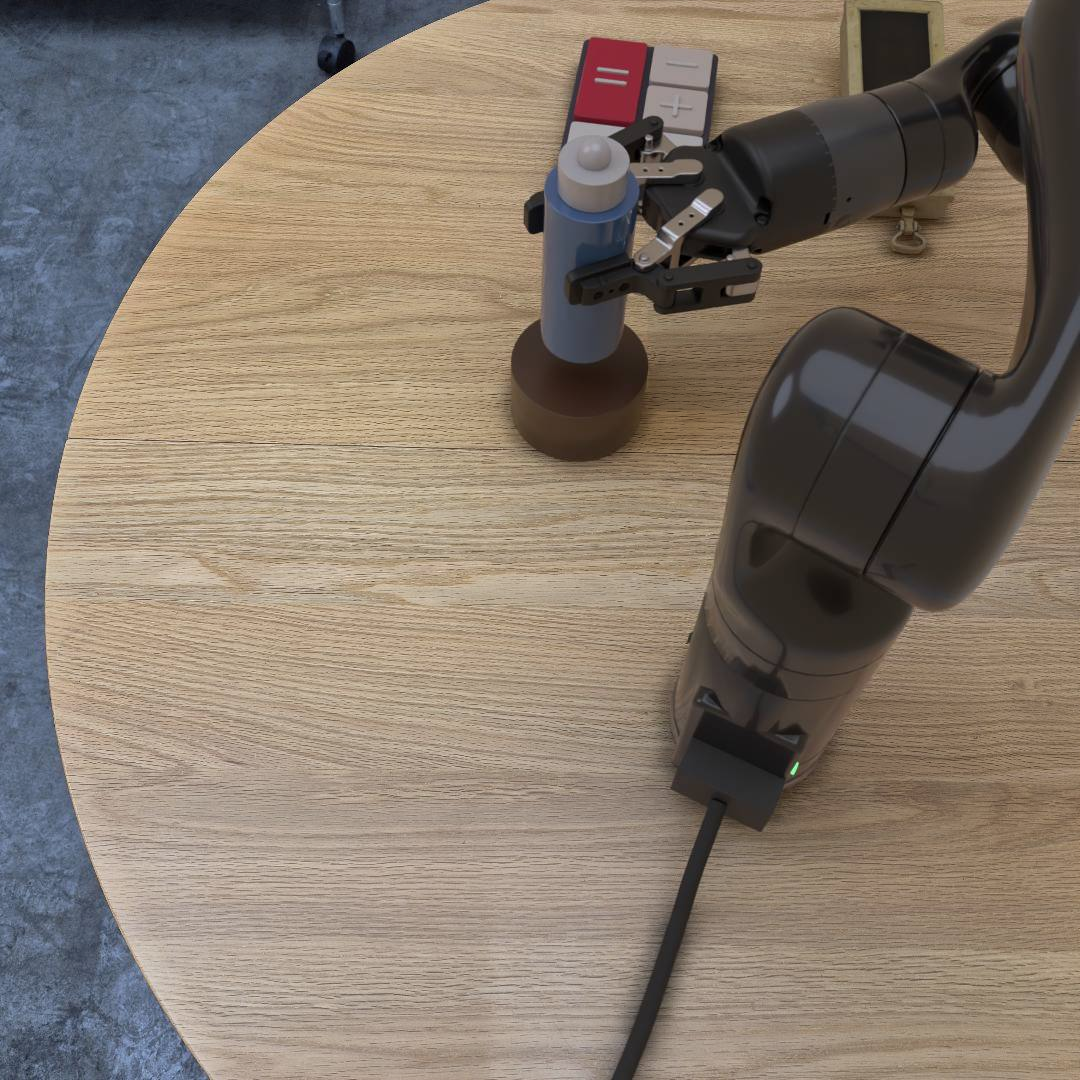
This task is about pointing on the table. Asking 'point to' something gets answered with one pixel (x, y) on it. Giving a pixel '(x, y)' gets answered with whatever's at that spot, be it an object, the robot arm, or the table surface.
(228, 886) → the table surface
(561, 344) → the pepper mill
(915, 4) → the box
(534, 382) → the stand
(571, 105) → the calculator
